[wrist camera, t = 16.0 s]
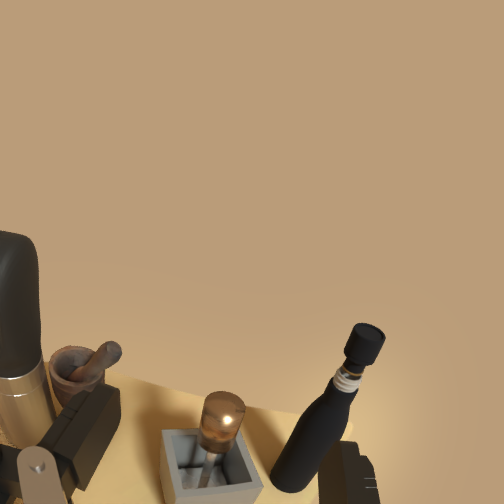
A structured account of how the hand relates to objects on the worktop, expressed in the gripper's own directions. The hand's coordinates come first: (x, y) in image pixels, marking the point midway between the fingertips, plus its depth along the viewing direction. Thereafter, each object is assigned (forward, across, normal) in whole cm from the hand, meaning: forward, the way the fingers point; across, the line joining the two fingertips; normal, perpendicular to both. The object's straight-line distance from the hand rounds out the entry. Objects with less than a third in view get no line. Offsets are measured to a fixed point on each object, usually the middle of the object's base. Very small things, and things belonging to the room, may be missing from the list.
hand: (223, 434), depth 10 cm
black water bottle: (+22, -14, +36) cm, 44 cm away
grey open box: (+15, 0, +36) cm, 39 cm away
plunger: (+15, 0, +33) cm, 36 cm away
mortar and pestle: (+22, +20, +36) cm, 47 cm away
